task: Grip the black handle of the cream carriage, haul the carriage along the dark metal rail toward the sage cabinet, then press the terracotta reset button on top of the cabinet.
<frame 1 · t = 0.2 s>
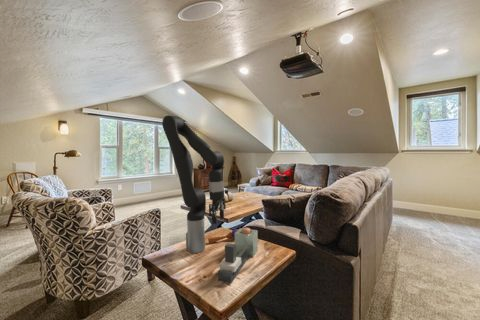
hand: (218, 221, 112), 18 cm above the table, tool pointing down, fingers open, 8 cm apart
reset button: (246, 232, 114), point 10 cm above the table, slide at 0.0 cm
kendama: (225, 241, 130), on the table
carriage: (230, 257, 95), point 7 cm above the table, slide at 0.0 cm
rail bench: (235, 266, 101), on the table
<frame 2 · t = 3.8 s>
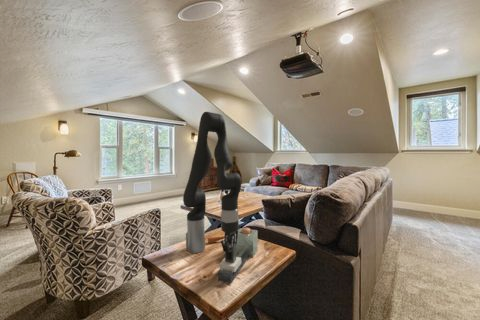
hand: (230, 257, 95), 7 cm above the table, tool pointing down, fingers closed on carriage, 3 cm apart
carriage: (230, 257, 95), point 7 cm above the table, slide at 0.0 cm, touching gripper
everything else where it was.
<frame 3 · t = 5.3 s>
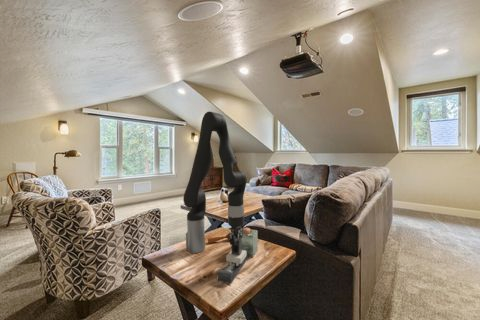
hand: (236, 250, 102), 7 cm above the table, tool pointing down, fingers closed on carriage, 3 cm apart
carriage: (236, 249, 102), point 7 cm above the table, slide at 7.2 cm, touching gripper
everything else where it was.
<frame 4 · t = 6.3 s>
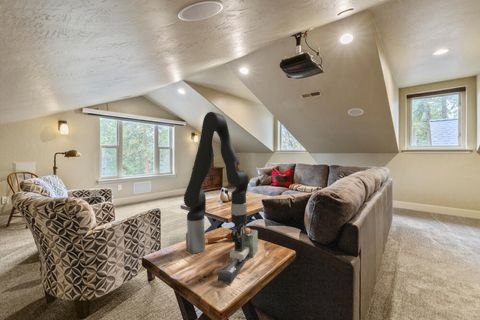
hand: (239, 247, 105), 7 cm above the table, tool pointing down, fingers closed on carriage, 3 cm apart
carriage: (239, 246, 105), point 7 cm above the table, slide at 11.0 cm, touching gripper
everything else where it was.
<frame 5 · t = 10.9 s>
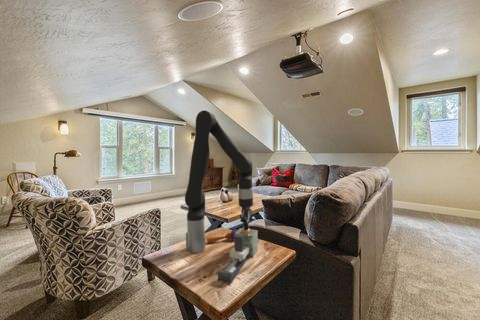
hand: (246, 229, 114), 12 cm above the table, tool pointing down, fingers closed
reset button: (246, 233, 114), point 10 cm above the table, slide at 0.1 cm, touching gripper
carriage: (239, 246, 105), point 7 cm above the table, slide at 11.0 cm
everything else where it was.
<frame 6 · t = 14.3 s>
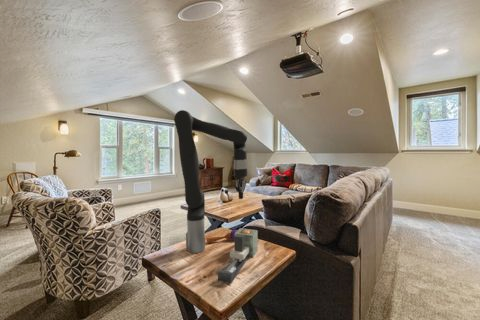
hand: (240, 198, 121), 27 cm above the table, tool pointing down, fingers closed
reset button: (246, 235, 114), point 9 cm above the table, slide at 1.3 cm
everything else where it was.
at the end: carriage slide at 11.0 cm; reset button slide at 1.3 cm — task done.
